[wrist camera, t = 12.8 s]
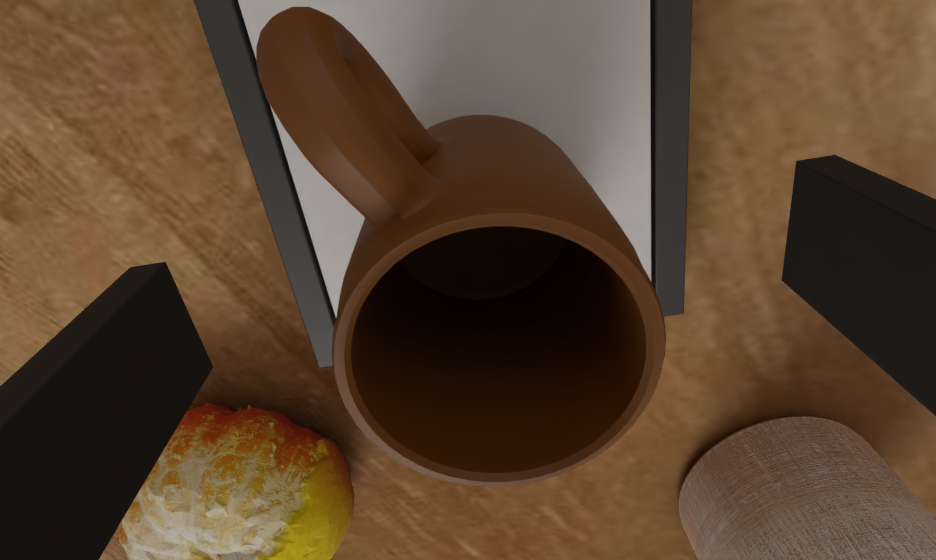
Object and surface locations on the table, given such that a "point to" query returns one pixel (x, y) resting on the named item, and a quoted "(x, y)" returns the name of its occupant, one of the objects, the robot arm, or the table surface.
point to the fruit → (241, 491)
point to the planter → (801, 498)
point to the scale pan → (498, 93)
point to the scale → (283, 202)
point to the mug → (466, 274)
